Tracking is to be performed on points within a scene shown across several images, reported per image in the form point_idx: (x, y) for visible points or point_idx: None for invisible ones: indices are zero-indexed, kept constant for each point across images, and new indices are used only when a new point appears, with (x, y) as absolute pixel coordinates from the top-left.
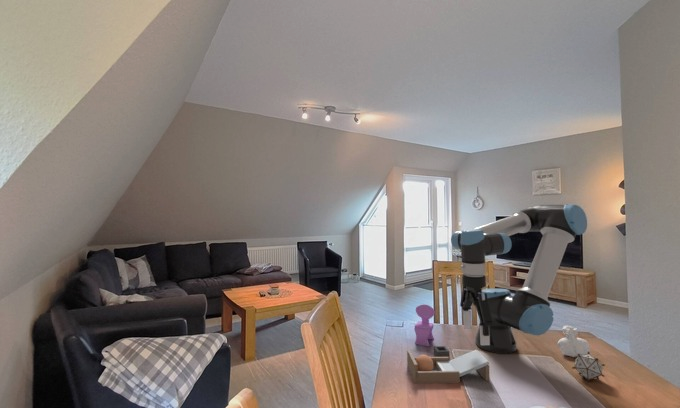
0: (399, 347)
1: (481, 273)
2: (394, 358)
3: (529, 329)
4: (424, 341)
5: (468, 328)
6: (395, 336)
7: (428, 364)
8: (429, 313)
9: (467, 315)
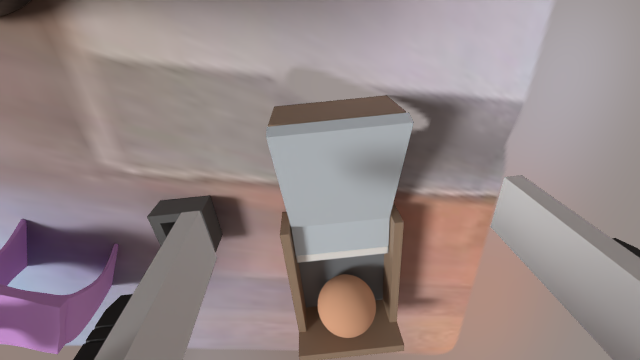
0: None
1: None
2: (252, 333)
3: None
4: (109, 272)
5: (205, 235)
6: None
7: (374, 308)
8: None
9: (162, 351)
